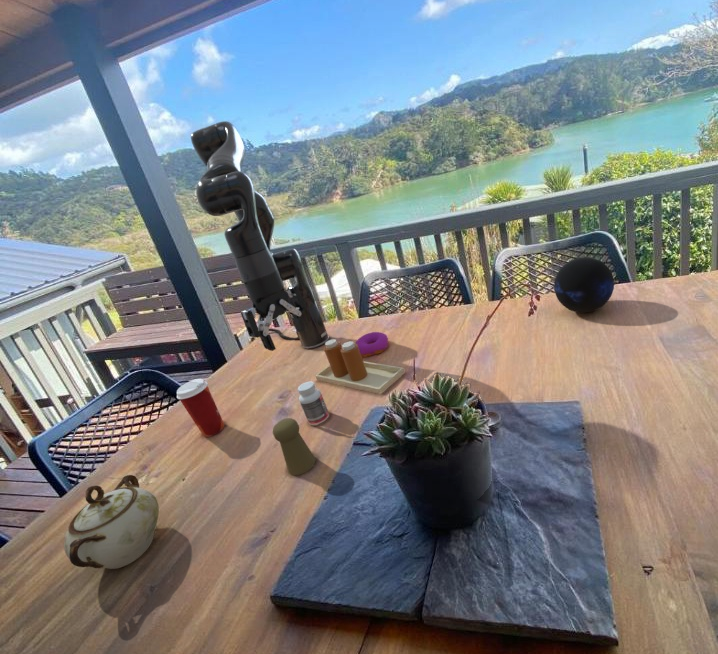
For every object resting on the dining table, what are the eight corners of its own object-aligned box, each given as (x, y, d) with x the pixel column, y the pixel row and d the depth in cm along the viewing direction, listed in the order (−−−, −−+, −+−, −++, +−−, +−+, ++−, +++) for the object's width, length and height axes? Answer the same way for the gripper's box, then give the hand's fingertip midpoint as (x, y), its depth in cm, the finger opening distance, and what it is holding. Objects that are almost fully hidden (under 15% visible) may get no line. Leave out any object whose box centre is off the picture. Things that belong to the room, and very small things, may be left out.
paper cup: (234, 420, 117) (211, 376, 111) (216, 439, 110) (191, 393, 105) (211, 421, 119) (188, 378, 114) (192, 440, 113) (167, 395, 107)
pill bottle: (333, 417, 105) (320, 384, 101) (313, 429, 103) (299, 395, 99) (324, 409, 109) (311, 377, 105) (305, 420, 107) (291, 387, 103)
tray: (317, 381, 124) (314, 375, 124) (341, 363, 131) (339, 357, 130) (381, 395, 108) (379, 389, 107) (405, 374, 115) (403, 367, 114)
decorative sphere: (575, 296, 131) (570, 248, 125) (626, 302, 119) (623, 249, 113) (546, 317, 123) (539, 267, 117) (597, 326, 111) (592, 271, 106)
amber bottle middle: (347, 379, 119) (335, 347, 115) (358, 370, 123) (347, 339, 119) (359, 382, 116) (347, 349, 112) (370, 372, 120) (360, 340, 116)
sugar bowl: (120, 517, 91) (82, 463, 85) (188, 499, 91) (154, 443, 85) (60, 609, 73) (5, 548, 67) (144, 586, 73) (97, 523, 67)
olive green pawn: (286, 462, 94) (267, 421, 89) (313, 450, 95) (295, 410, 91) (289, 479, 88) (269, 437, 84) (317, 466, 90) (299, 424, 85)
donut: (356, 361, 129) (351, 348, 127) (359, 346, 139) (355, 334, 137) (390, 353, 128) (385, 340, 127) (390, 339, 138) (386, 326, 136)
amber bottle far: (330, 376, 124) (318, 345, 120) (342, 367, 127) (331, 337, 123) (341, 378, 121) (330, 346, 117) (353, 369, 124) (342, 338, 120)
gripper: (275, 261, 98) (300, 325, 104) (220, 286, 89) (251, 354, 95) (295, 260, 93) (320, 326, 100) (239, 286, 84) (271, 358, 90)
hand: (287, 340), depth 97 cm, fingers open, 8 cm apart
